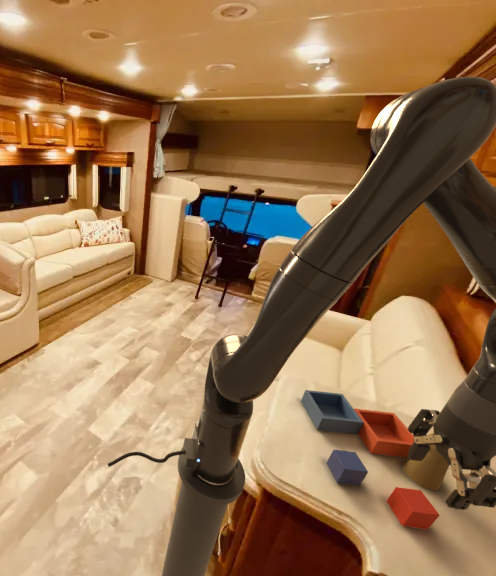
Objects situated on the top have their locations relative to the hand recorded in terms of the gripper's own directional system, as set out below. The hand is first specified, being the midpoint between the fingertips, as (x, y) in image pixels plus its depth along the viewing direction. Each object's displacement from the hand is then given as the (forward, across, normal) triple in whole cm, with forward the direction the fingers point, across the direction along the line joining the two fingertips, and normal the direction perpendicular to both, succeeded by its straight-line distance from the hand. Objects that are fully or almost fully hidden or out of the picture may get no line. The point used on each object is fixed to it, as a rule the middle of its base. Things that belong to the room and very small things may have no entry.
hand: (432, 481), depth 56 cm
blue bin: (+10, -23, -4) cm, 25 cm away
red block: (+10, 0, 0) cm, 10 cm away
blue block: (+10, -7, -8) cm, 15 cm away
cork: (+10, -9, +9) cm, 16 cm away
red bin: (+10, -18, +6) cm, 21 cm away
